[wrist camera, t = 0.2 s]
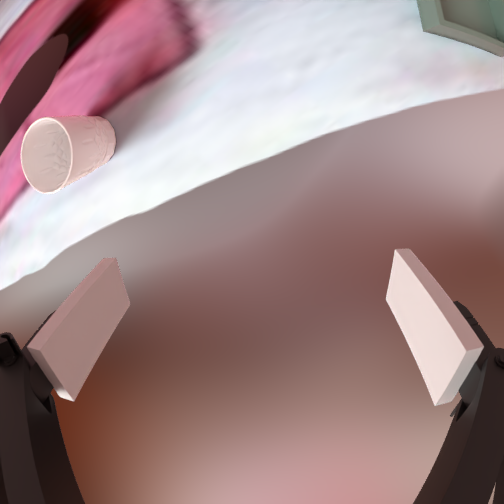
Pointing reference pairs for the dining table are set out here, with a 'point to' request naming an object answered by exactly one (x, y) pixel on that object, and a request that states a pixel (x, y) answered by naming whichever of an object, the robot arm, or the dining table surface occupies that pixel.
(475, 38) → the grey-green shallow box
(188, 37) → the dining table surface
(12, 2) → the dining table surface
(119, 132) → the dining table surface
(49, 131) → the white cup
